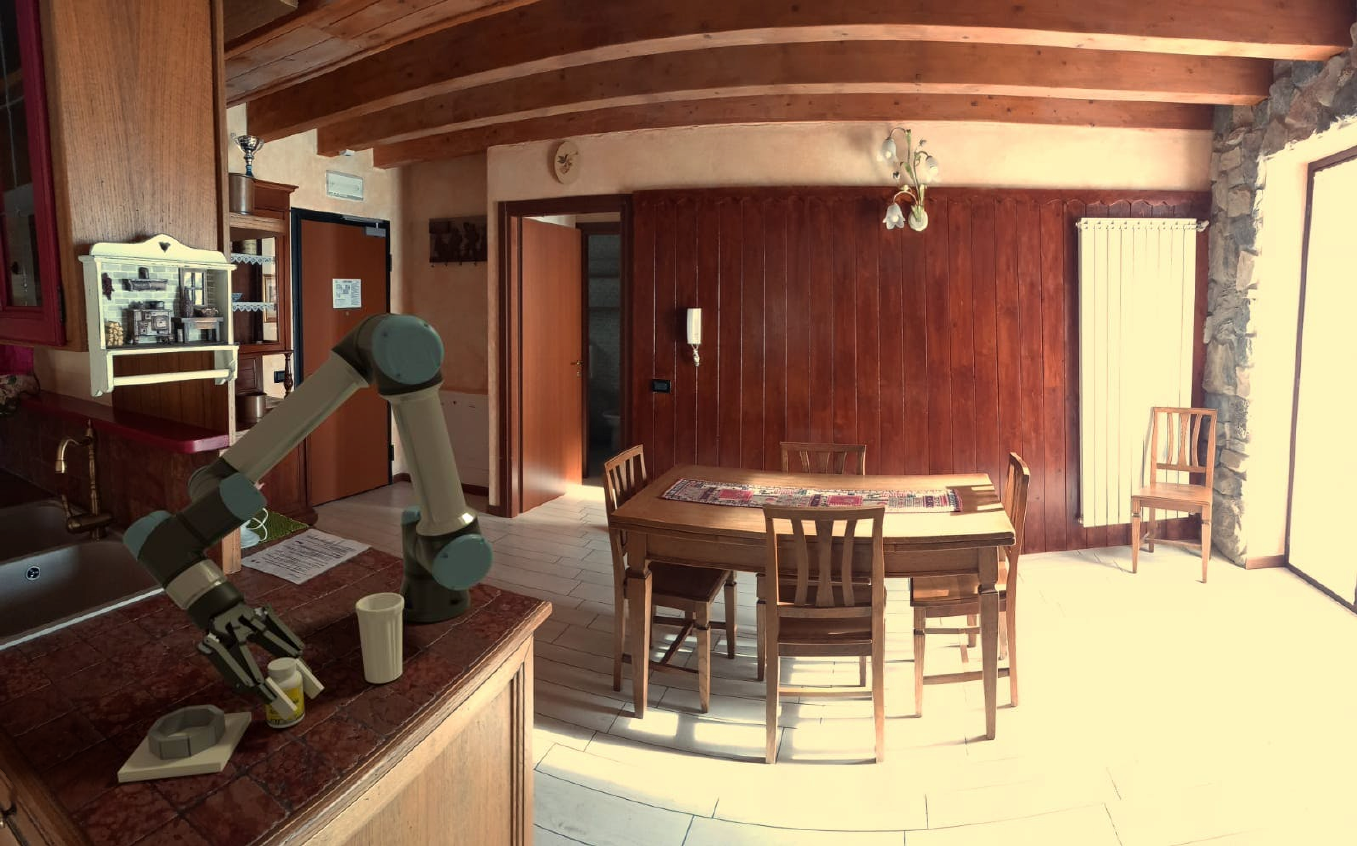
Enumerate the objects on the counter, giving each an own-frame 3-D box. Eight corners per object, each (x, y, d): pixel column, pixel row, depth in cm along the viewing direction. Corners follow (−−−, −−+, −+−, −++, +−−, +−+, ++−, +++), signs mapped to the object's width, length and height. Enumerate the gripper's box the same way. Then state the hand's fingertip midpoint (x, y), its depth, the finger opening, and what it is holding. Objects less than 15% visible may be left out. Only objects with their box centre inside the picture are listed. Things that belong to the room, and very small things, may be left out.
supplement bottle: (265, 732, 116) (260, 674, 114) (268, 713, 121) (263, 658, 119) (304, 724, 119) (299, 668, 117) (306, 706, 123) (301, 652, 122)
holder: (251, 719, 120) (249, 694, 119) (221, 771, 108) (218, 743, 107) (160, 728, 117) (157, 702, 116) (118, 782, 105) (115, 753, 104)
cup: (392, 690, 130) (388, 613, 127) (349, 685, 131) (345, 609, 128) (416, 667, 137) (413, 594, 135) (376, 662, 139) (372, 590, 136)
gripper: (239, 586, 129) (330, 686, 128) (142, 635, 111) (247, 751, 111) (263, 560, 127) (355, 661, 126) (168, 606, 109) (275, 723, 109)
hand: (304, 703), depth 118 cm, fingers closed on supplement bottle, 5 cm apart
